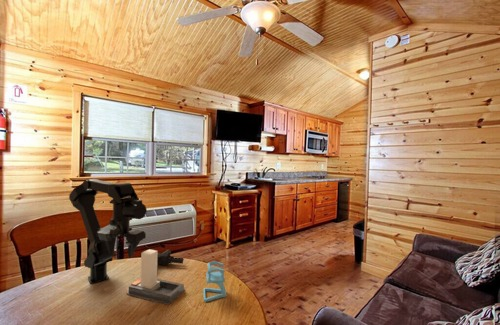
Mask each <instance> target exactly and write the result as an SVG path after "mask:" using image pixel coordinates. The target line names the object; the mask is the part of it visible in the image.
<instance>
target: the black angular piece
mask: <svg viewBox="0 0 500 325" xmlns="http://www.w3.org/2000/svg"><path fill="white" fill-rule="evenodd" d="M171 254H172V251H171V249H166V250H165V251H163V252H162V253H160V252H158V254H157V265H163V266H168V265H170V264H184V260H185V258H184V257H175V256H171Z"/></svg>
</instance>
